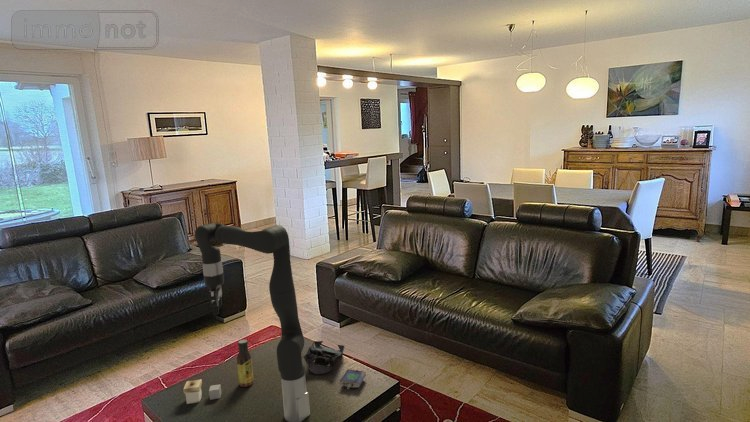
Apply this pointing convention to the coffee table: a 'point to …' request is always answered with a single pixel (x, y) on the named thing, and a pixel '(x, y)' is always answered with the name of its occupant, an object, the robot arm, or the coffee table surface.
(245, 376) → the sauce bottle
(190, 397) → the white cube box
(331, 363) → the dark piece
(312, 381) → the coffee table surface
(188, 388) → the lid
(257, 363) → the coffee table surface
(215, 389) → the gray cube
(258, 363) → the coffee table surface
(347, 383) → the grey electronic device
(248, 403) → the coffee table surface
